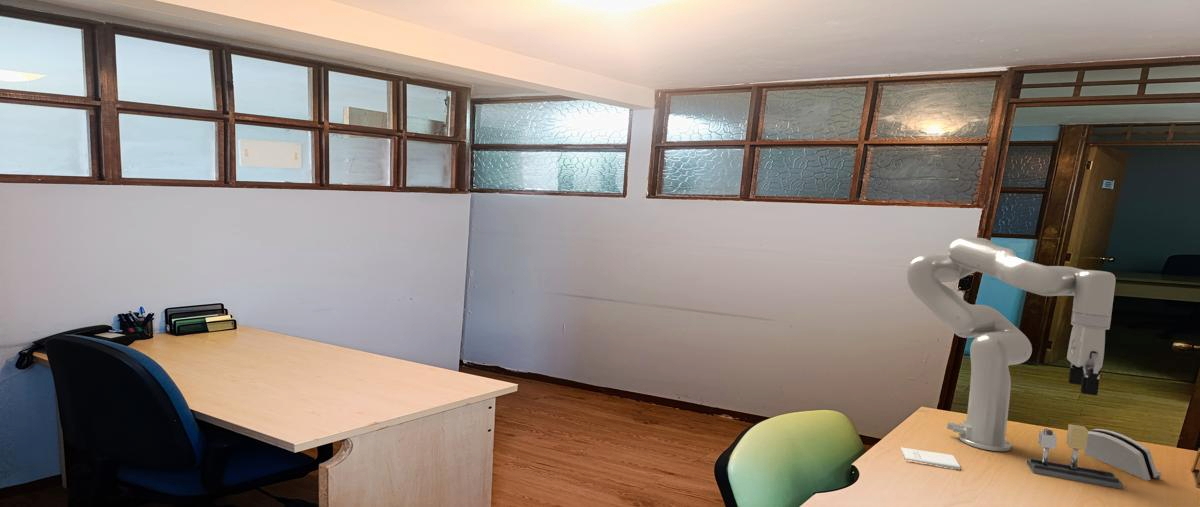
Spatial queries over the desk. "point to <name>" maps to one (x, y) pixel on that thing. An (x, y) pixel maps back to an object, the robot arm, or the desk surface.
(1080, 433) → the tan square-headed peg
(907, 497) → the desk surface
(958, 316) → the robot arm
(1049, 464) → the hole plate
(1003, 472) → the desk surface
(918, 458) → the external hard drive
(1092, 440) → the white black arched block
